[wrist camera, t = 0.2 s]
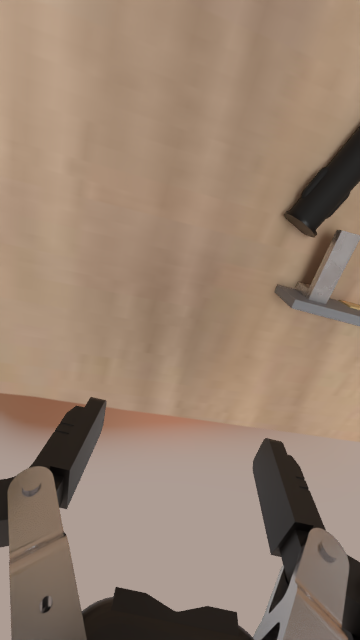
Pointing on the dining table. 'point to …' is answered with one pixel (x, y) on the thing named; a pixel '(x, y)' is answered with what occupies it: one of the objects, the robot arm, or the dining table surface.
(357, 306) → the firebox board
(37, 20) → the dining table surface
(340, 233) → the grey u-shaped bracket
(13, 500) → the robot arm
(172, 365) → the dining table surface
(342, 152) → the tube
